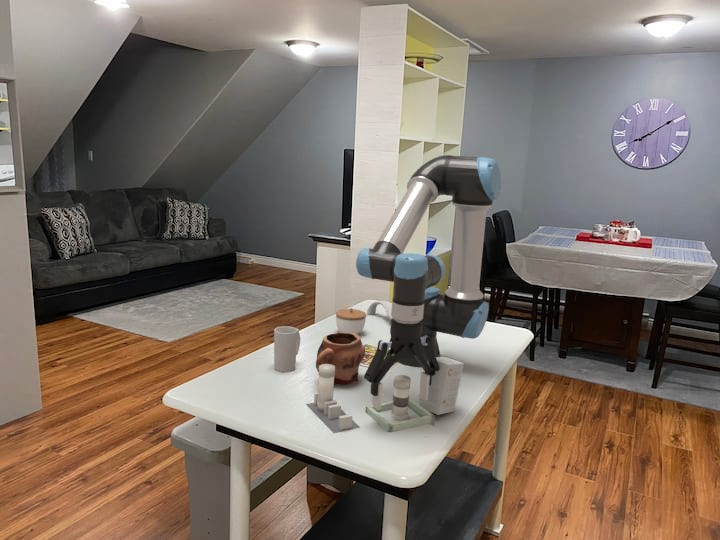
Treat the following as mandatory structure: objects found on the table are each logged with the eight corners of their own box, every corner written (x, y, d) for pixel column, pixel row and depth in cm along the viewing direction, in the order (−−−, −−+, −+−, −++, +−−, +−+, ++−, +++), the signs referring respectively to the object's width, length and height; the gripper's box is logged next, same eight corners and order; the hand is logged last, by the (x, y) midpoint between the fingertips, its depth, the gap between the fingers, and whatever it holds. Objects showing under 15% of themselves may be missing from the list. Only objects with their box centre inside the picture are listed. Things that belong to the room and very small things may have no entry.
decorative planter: (338, 402, 148) (340, 352, 145) (299, 391, 154) (301, 342, 151) (372, 377, 166) (375, 332, 163) (336, 368, 171) (338, 324, 168)
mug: (285, 374, 164) (287, 335, 162) (268, 368, 168) (269, 330, 165) (307, 364, 173) (309, 327, 170) (290, 359, 176) (291, 322, 174)
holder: (330, 404, 147) (332, 359, 144) (360, 433, 133) (363, 383, 130) (305, 409, 143) (307, 363, 141) (333, 439, 130) (335, 388, 127)
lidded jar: (330, 330, 206) (331, 305, 204) (357, 327, 210) (358, 303, 208) (342, 339, 196) (343, 314, 194) (369, 337, 201) (371, 311, 199)
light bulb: (401, 415, 142) (404, 374, 140) (410, 422, 138) (414, 380, 136) (388, 418, 140) (391, 376, 138) (396, 425, 137) (399, 382, 134)
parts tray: (408, 408, 147) (409, 397, 147) (433, 427, 138) (434, 416, 137) (365, 417, 141) (365, 406, 140) (388, 437, 132) (389, 426, 131)
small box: (434, 403, 151) (444, 356, 150) (454, 412, 147) (464, 363, 146) (417, 406, 145) (427, 357, 144) (438, 415, 140) (448, 364, 140)
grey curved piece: (424, 327, 217) (426, 309, 215) (405, 333, 209) (406, 314, 207) (379, 312, 233) (380, 295, 231) (359, 317, 225) (360, 300, 223)
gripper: (369, 329, 125) (363, 418, 129) (458, 318, 137) (450, 400, 141) (353, 319, 131) (348, 404, 135) (440, 310, 143) (433, 388, 147)
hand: (400, 402), depth 138 cm, fingers open, 13 cm apart
